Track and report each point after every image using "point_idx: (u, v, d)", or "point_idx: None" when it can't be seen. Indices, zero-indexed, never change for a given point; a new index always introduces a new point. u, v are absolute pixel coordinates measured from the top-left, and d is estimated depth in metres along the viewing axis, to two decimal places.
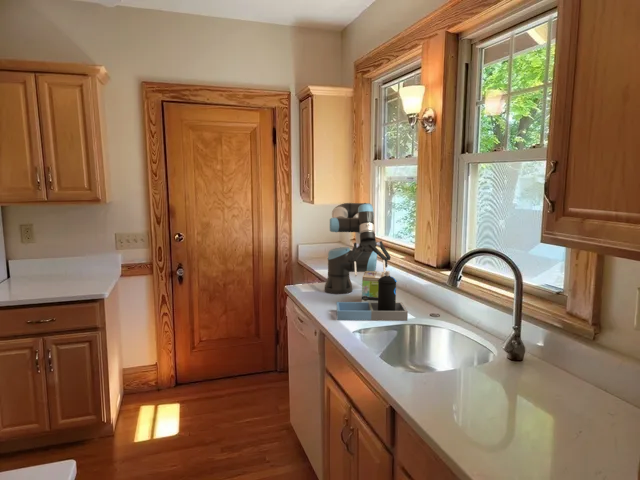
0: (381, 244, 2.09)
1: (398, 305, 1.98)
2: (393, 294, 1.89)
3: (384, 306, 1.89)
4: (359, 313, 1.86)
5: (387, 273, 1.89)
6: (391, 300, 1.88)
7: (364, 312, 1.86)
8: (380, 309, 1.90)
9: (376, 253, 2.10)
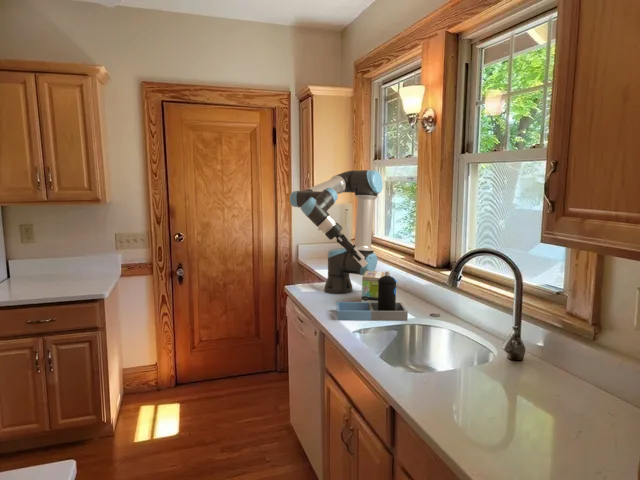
0: None
1: (398, 305, 1.98)
2: (393, 294, 1.89)
3: (384, 306, 1.89)
4: (359, 313, 1.86)
5: (387, 273, 1.89)
6: (391, 300, 1.88)
7: (364, 312, 1.86)
8: (380, 309, 1.90)
9: (349, 244, 1.85)
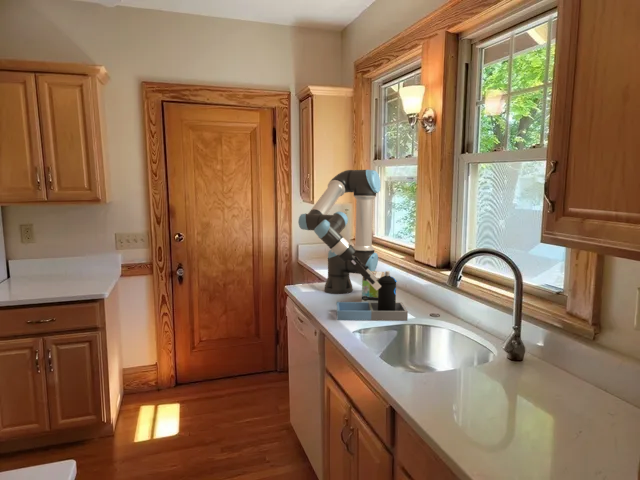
0: (353, 265, 1.82)
1: (398, 305, 1.98)
2: (393, 294, 1.89)
3: (384, 306, 1.89)
4: (359, 313, 1.86)
5: (387, 273, 1.89)
6: (391, 300, 1.88)
7: (364, 312, 1.86)
8: (380, 309, 1.90)
9: (362, 266, 1.85)
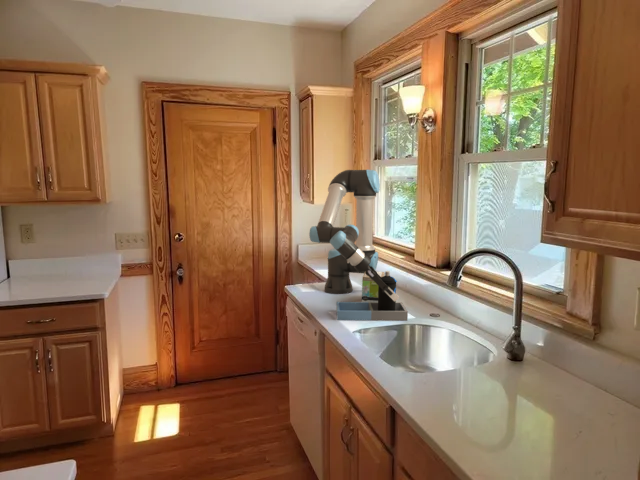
0: (370, 277, 1.84)
1: (398, 305, 1.98)
2: None
3: (384, 306, 1.89)
4: (359, 313, 1.86)
5: (387, 273, 1.89)
6: (391, 300, 1.88)
7: (364, 312, 1.86)
8: (380, 309, 1.90)
9: None
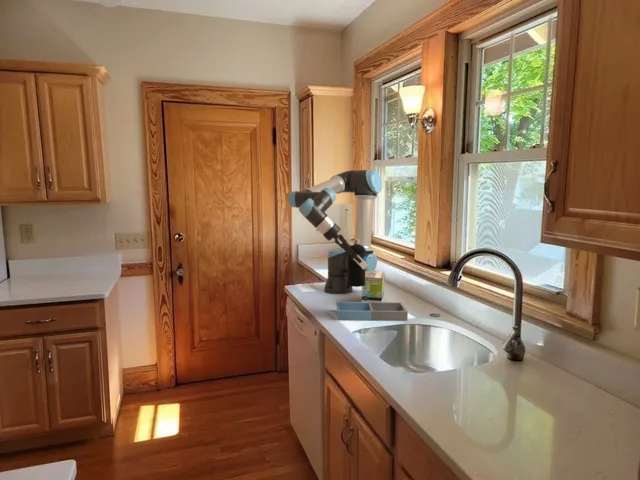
0: (339, 244, 1.83)
1: (398, 305, 1.98)
2: None
3: (353, 274, 1.87)
4: (359, 313, 1.86)
5: (357, 241, 1.88)
6: (360, 268, 1.87)
7: (364, 312, 1.86)
8: (349, 278, 1.88)
9: (347, 245, 1.86)
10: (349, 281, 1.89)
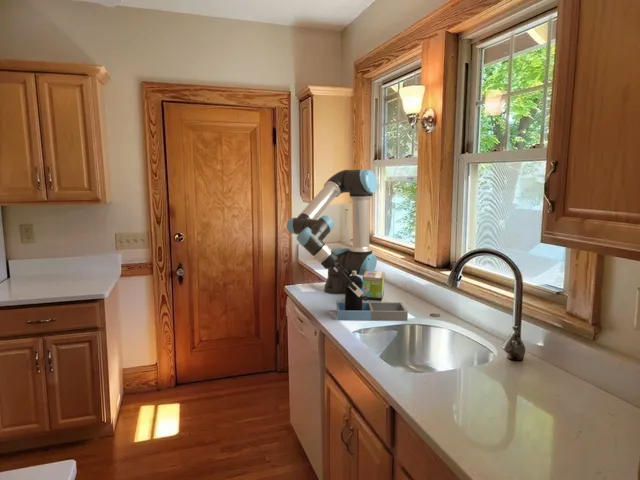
0: (335, 272, 1.84)
1: (398, 305, 1.98)
2: None
3: (350, 306, 1.89)
4: (359, 313, 1.86)
5: (354, 273, 1.90)
6: (357, 300, 1.89)
7: (364, 312, 1.86)
8: (347, 309, 1.90)
9: (344, 273, 1.87)
10: None
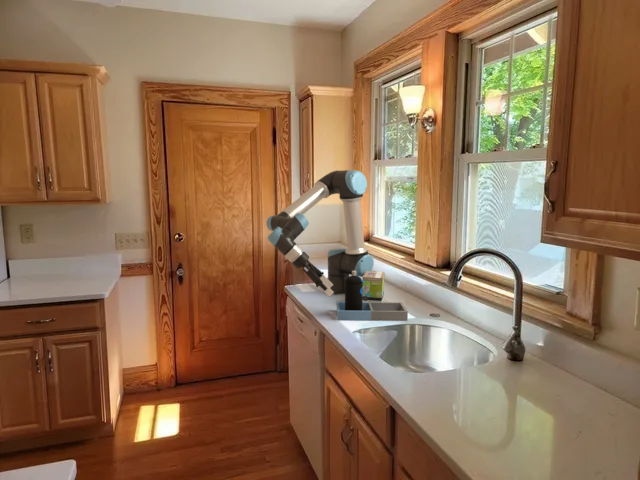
0: None
1: (398, 305, 1.98)
2: (359, 294, 1.89)
3: (350, 306, 1.89)
4: (359, 313, 1.86)
5: (354, 273, 1.90)
6: (357, 300, 1.89)
7: (364, 312, 1.86)
8: (347, 309, 1.90)
9: (315, 273, 1.87)
10: None
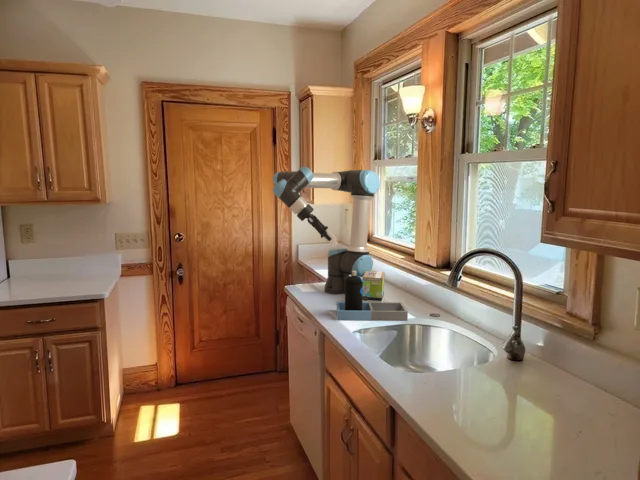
0: (310, 223, 1.86)
1: (398, 305, 1.98)
2: (359, 294, 1.89)
3: (350, 306, 1.89)
4: (359, 313, 1.86)
5: (354, 273, 1.90)
6: (357, 300, 1.89)
7: (364, 312, 1.86)
8: (347, 309, 1.90)
9: (319, 224, 1.89)
10: None
